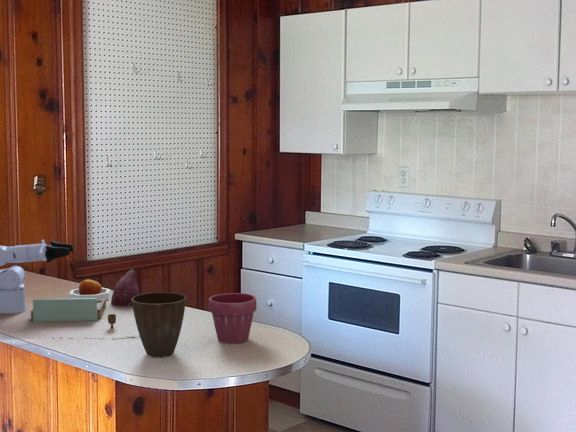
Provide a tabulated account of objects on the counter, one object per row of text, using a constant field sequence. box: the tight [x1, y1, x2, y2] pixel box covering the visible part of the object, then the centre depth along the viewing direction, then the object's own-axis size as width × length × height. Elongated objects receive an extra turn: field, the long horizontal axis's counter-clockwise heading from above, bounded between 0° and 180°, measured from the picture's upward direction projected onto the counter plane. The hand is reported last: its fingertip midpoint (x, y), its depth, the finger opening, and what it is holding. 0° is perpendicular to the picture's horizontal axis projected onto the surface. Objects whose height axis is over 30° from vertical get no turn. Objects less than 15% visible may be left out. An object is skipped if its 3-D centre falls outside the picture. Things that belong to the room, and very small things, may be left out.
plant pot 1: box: [132, 291, 187, 358], centre depth 219 cm, size 15×15×16 cm
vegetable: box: [110, 268, 141, 307], centre depth 275 cm, size 10×10×15 cm
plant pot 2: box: [208, 292, 258, 344], centre depth 233 cm, size 14×14×13 cm
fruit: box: [78, 278, 103, 295], centre depth 287 cm, size 8×8×8 cm
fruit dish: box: [68, 287, 111, 303], centre depth 287 cm, size 14×14×2 cm
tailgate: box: [32, 298, 98, 323], centre depth 250 cm, size 20×1×7 cm, turn 97°
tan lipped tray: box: [30, 299, 107, 322], centre depth 259 cm, size 22×16×4 cm
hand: (71, 249), depth 263 cm, fingers open, 7 cm apart
